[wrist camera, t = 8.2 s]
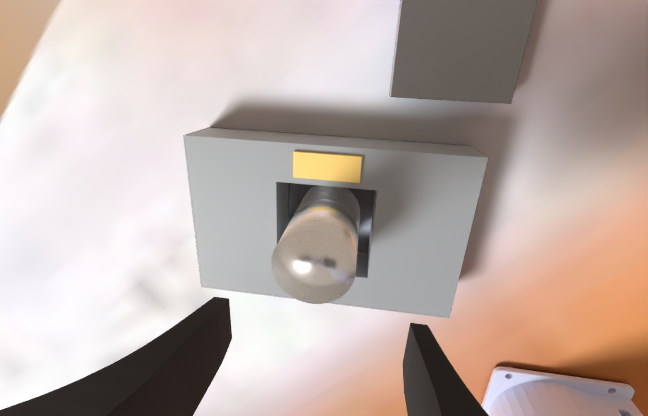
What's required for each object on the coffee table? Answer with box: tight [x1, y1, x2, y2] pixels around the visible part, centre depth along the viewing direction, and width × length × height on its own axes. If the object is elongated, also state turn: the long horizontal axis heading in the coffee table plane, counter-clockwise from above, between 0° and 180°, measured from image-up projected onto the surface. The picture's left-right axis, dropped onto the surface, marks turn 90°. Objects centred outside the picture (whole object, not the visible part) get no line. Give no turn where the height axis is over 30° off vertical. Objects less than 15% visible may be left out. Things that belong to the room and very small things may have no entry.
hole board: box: [183, 128, 488, 318], centre depth 20 cm, size 16×10×3 cm, turn 87°
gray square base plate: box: [389, 0, 537, 104], centre depth 16 cm, size 6×6×2 cm
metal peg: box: [271, 185, 360, 304], centre depth 18 cm, size 4×4×7 cm
